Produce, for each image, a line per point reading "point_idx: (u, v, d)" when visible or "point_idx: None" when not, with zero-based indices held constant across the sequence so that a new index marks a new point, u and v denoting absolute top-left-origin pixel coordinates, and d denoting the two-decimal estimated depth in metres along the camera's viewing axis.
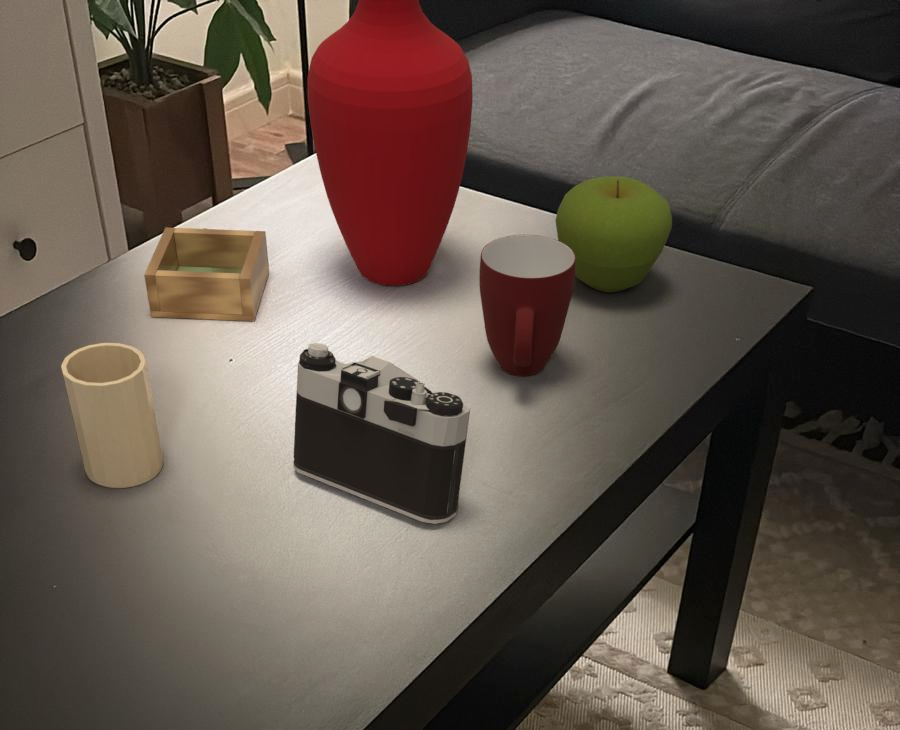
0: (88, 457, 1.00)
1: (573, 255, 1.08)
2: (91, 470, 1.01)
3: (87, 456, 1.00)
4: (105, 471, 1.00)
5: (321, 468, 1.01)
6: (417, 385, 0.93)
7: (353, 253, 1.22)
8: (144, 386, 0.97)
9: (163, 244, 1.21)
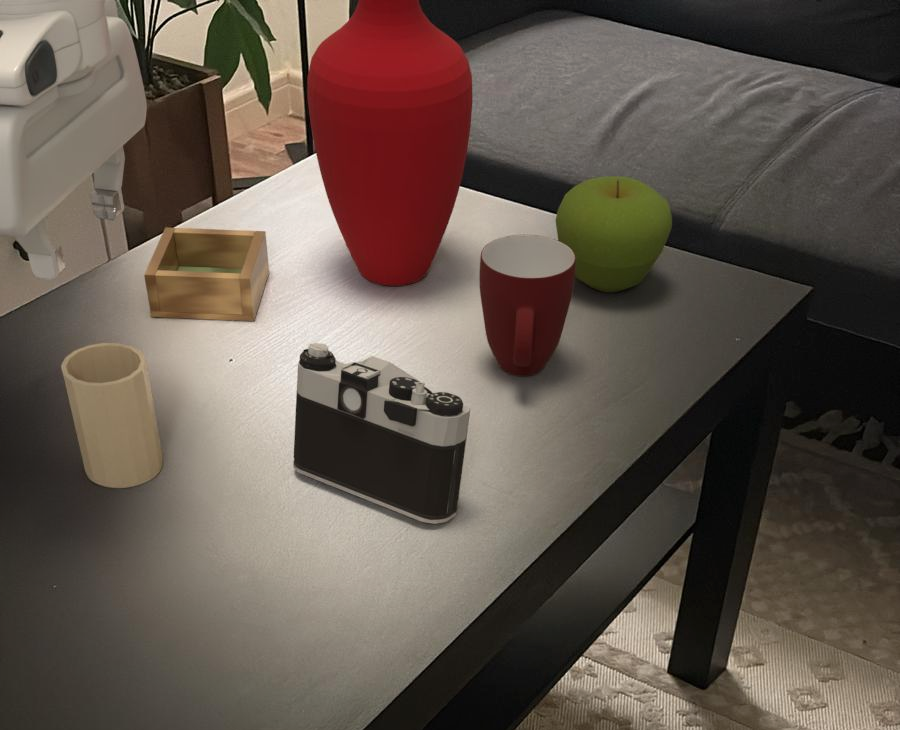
0: (88, 457, 1.00)
1: (573, 255, 1.08)
2: (91, 470, 1.01)
3: (87, 456, 1.00)
4: (105, 471, 1.00)
5: (321, 468, 1.01)
6: (417, 385, 0.93)
7: (353, 253, 1.22)
8: (144, 386, 0.97)
9: (163, 244, 1.21)
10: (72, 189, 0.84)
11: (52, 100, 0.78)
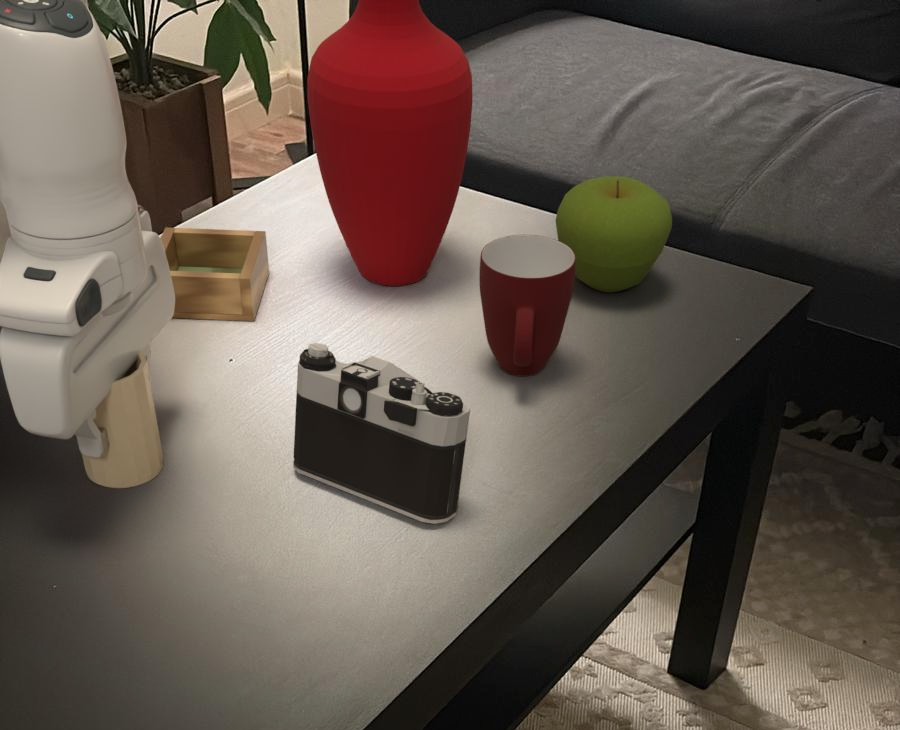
0: (89, 457, 1.00)
1: (573, 255, 1.08)
2: (91, 470, 1.01)
3: (87, 456, 1.00)
4: (105, 471, 1.00)
5: (321, 468, 1.01)
6: (417, 385, 0.93)
7: (353, 253, 1.22)
8: (144, 386, 0.97)
9: (163, 244, 1.21)
10: (111, 388, 0.95)
11: (97, 324, 0.89)
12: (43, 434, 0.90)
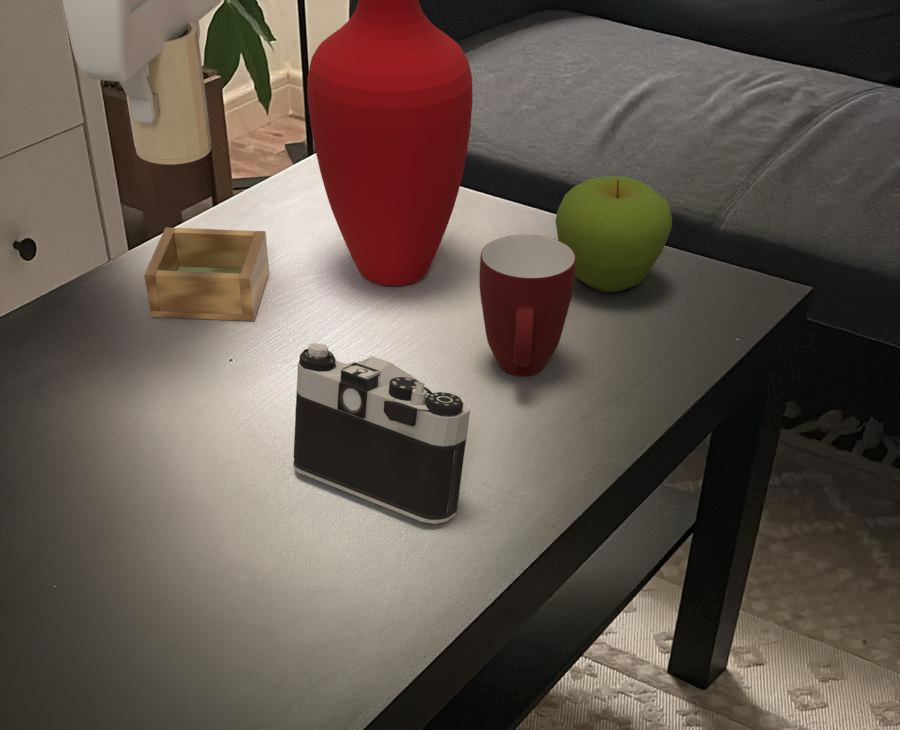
0: (140, 130, 1.04)
1: (573, 255, 1.08)
2: (143, 145, 1.04)
3: (139, 130, 1.04)
4: (156, 145, 1.04)
5: (321, 468, 1.01)
6: (417, 385, 0.93)
7: (353, 253, 1.22)
8: (195, 53, 1.01)
9: (163, 244, 1.21)
10: (163, 47, 0.99)
11: None
12: (100, 74, 0.94)
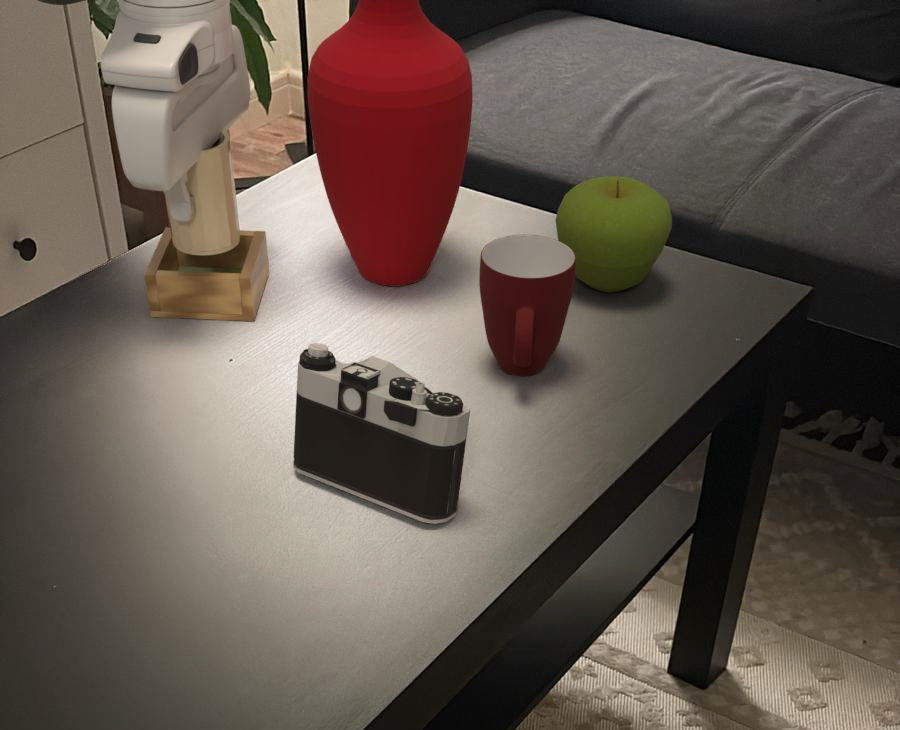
0: (178, 226, 1.15)
1: (573, 255, 1.08)
2: (179, 238, 1.16)
3: (176, 225, 1.16)
4: (192, 238, 1.16)
5: (321, 468, 1.01)
6: (417, 385, 0.93)
7: (353, 253, 1.22)
8: (228, 159, 1.13)
9: (163, 244, 1.21)
10: None
11: (193, 88, 1.04)
12: (146, 185, 1.06)
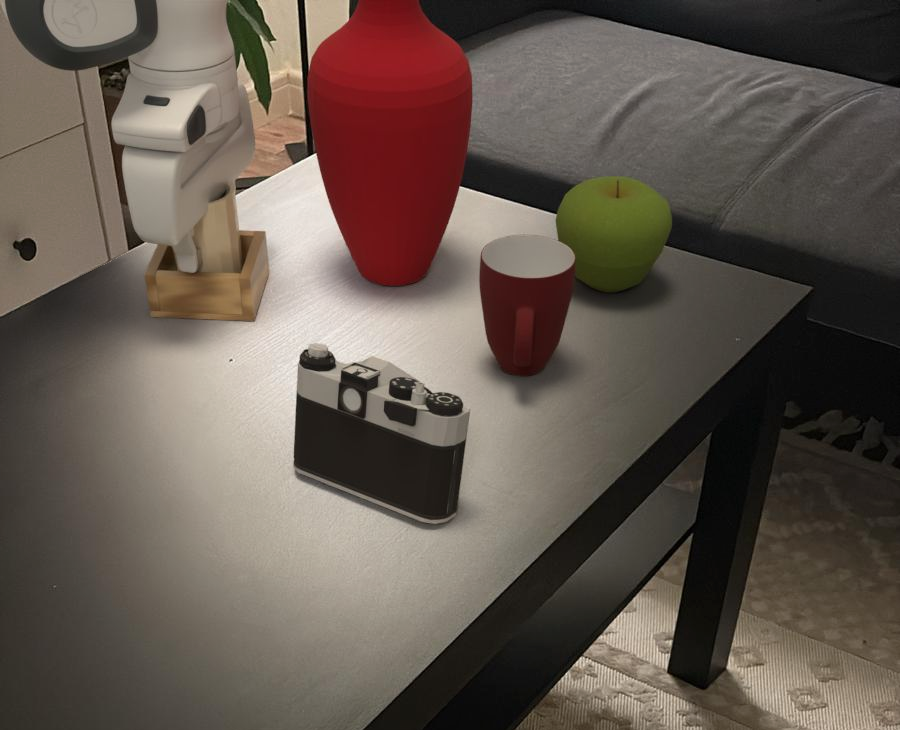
0: None
1: (573, 255, 1.08)
2: None
3: None
4: None
5: (321, 468, 1.01)
6: (417, 385, 0.93)
7: (353, 253, 1.22)
8: (233, 209, 1.16)
9: None
10: None
11: (200, 147, 1.08)
12: (155, 240, 1.09)
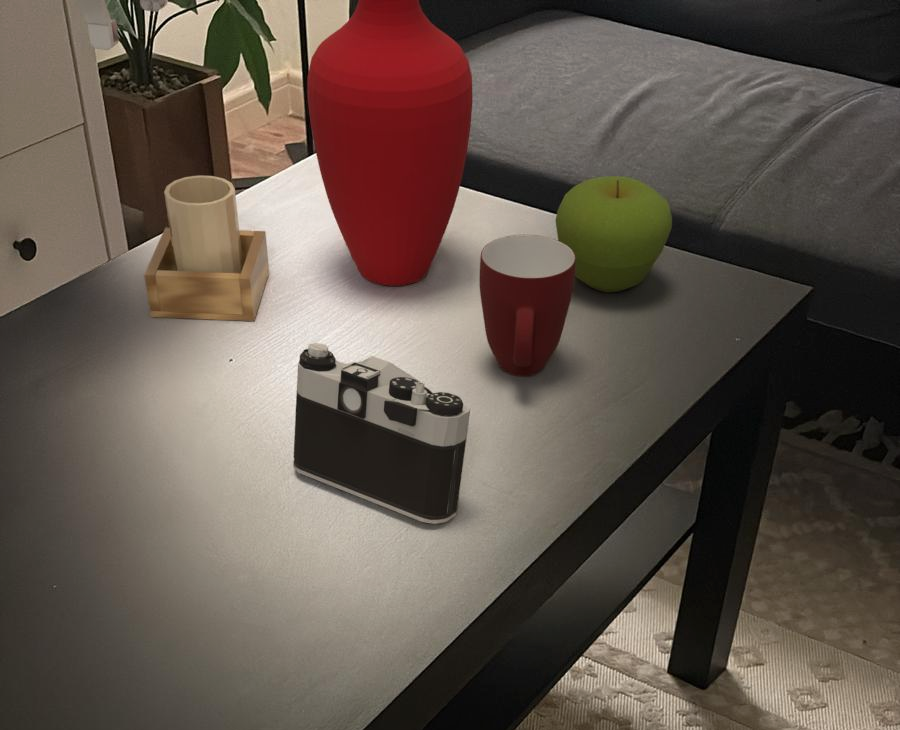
0: None
1: (573, 255, 1.08)
2: None
3: None
4: None
5: (321, 468, 1.01)
6: (417, 385, 0.93)
7: (353, 253, 1.22)
8: (233, 209, 1.16)
9: (163, 244, 1.21)
10: None
11: None
12: None
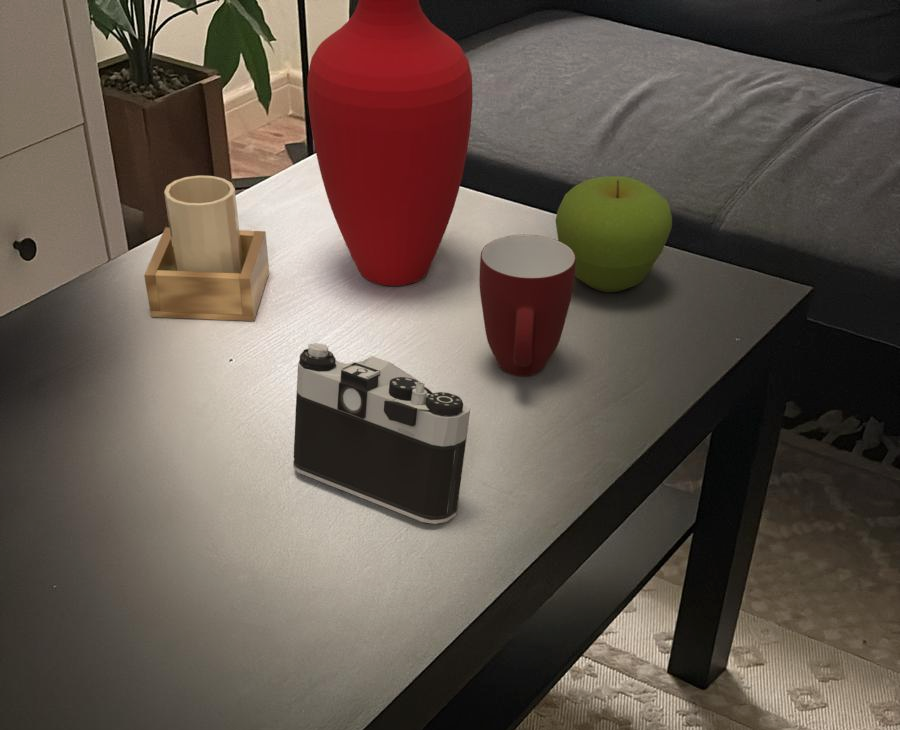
0: None
1: (573, 255, 1.08)
2: None
3: None
4: None
5: (321, 468, 1.01)
6: (417, 385, 0.93)
7: (353, 253, 1.22)
8: (233, 209, 1.16)
9: (163, 244, 1.21)
10: None
11: None
12: None
